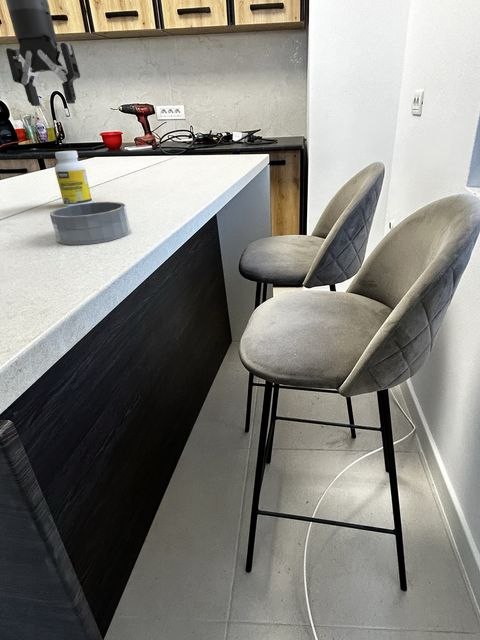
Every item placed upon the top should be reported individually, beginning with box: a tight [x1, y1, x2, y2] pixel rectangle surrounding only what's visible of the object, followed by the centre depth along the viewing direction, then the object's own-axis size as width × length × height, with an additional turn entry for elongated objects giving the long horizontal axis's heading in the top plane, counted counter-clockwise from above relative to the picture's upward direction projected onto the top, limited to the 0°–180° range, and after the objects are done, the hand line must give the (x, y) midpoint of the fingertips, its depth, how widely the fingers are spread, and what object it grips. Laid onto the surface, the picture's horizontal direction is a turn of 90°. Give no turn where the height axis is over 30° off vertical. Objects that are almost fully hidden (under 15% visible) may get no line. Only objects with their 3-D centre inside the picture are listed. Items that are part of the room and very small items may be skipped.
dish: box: [49, 201, 131, 246], centre depth 74 cm, size 12×12×4 cm
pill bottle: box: [54, 150, 93, 207], centre depth 100 cm, size 6×6×12 cm
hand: (53, 104), depth 92 cm, fingers open, 8 cm apart
